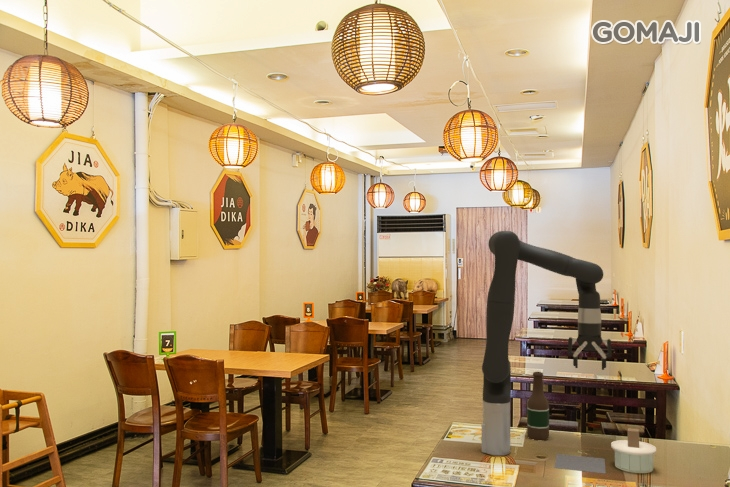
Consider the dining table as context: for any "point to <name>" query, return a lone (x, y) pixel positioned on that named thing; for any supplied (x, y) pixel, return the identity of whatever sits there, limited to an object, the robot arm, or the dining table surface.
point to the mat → (580, 463)
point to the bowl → (634, 462)
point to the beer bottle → (538, 411)
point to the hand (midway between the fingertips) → (589, 368)
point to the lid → (633, 445)
